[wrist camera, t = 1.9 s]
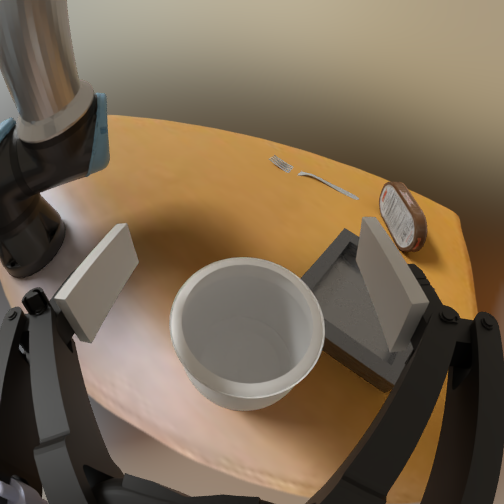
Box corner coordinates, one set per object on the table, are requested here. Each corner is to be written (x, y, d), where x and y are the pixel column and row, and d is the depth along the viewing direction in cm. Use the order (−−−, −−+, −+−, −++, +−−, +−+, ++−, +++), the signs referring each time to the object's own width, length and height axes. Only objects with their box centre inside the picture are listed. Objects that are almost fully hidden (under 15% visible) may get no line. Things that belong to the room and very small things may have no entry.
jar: (299, 397, 27) (353, 355, 16) (214, 431, 24) (200, 422, 13) (261, 322, 33) (280, 240, 22) (181, 349, 30) (152, 276, 19)
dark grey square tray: (274, 314, 34) (278, 302, 32) (339, 240, 44) (344, 228, 41) (384, 392, 27) (396, 386, 25) (425, 299, 37) (434, 289, 35)
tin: (413, 261, 42) (436, 228, 36) (400, 261, 42) (423, 227, 36) (384, 205, 52) (399, 173, 46) (372, 204, 52) (386, 171, 45)
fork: (370, 211, 51) (373, 204, 49) (267, 166, 58) (268, 159, 56) (373, 203, 53) (376, 197, 51) (273, 160, 60) (274, 154, 58)
